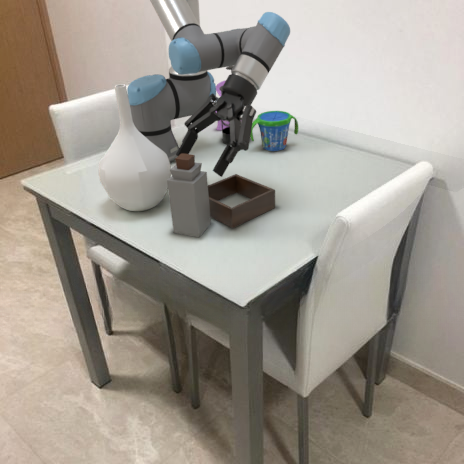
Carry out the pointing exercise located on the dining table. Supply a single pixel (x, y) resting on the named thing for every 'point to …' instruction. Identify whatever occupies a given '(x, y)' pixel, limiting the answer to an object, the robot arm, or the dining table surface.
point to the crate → (235, 216)
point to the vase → (133, 164)
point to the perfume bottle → (189, 196)
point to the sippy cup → (274, 129)
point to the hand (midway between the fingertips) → (198, 165)
